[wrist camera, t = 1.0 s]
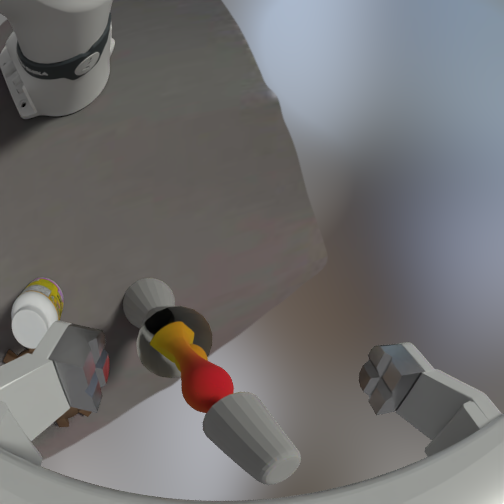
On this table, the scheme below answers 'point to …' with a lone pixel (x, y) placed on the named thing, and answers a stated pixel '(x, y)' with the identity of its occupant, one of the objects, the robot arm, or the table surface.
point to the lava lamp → (207, 382)
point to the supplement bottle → (36, 311)
